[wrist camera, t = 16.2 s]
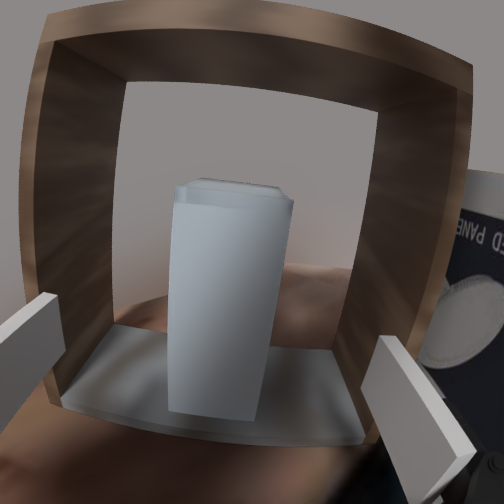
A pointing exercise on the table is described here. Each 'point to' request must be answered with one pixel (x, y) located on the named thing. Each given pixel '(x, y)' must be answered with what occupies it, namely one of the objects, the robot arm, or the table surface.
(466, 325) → the packaging
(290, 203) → the tall grey lidded box
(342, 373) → the walnut shelf
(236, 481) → the table surface
